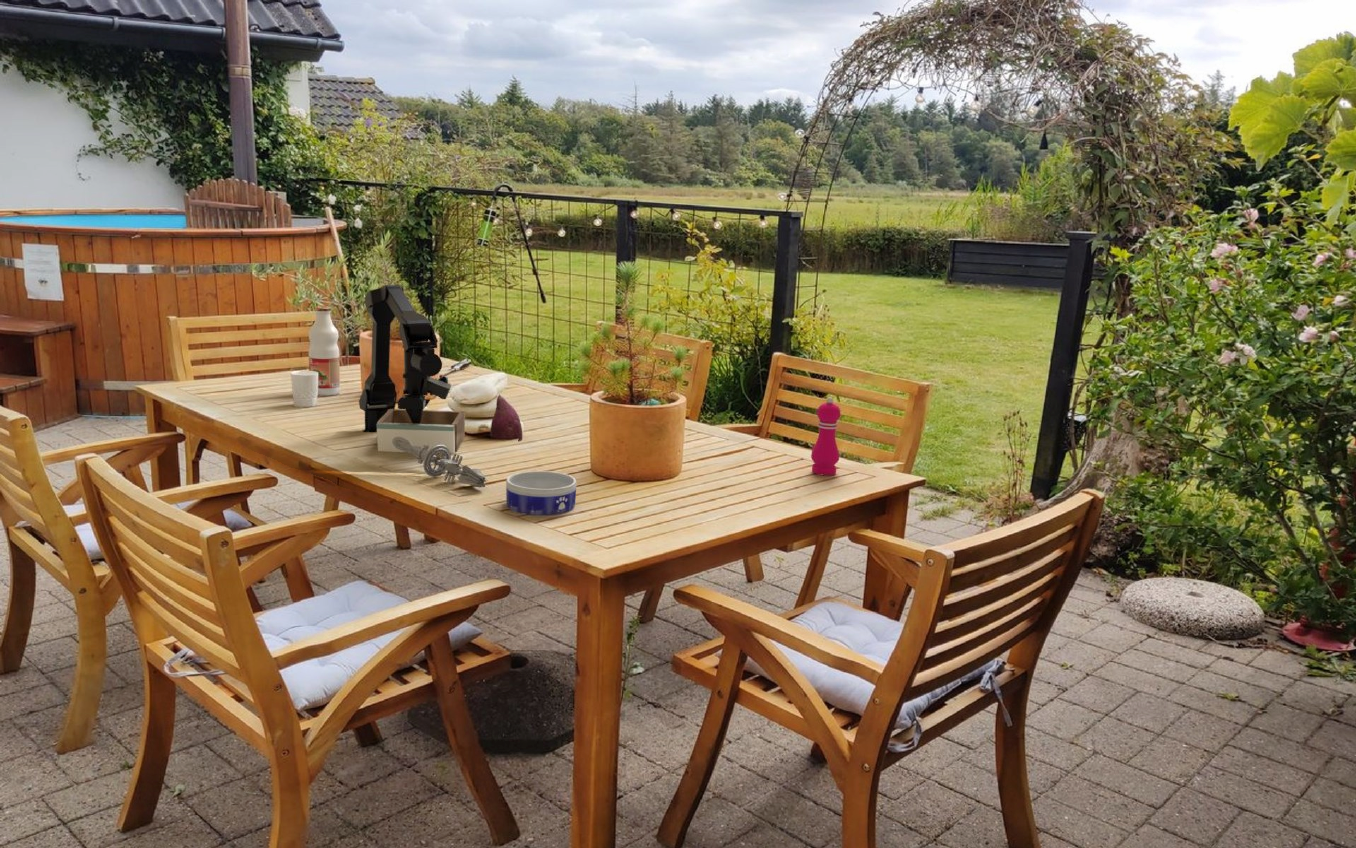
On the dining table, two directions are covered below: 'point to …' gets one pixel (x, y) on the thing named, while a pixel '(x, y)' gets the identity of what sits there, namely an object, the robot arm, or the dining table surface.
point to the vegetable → (505, 422)
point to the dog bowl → (540, 492)
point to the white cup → (305, 388)
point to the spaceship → (441, 463)
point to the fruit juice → (325, 352)
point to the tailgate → (415, 435)
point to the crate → (431, 420)
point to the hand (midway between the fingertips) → (416, 428)
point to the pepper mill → (826, 439)
